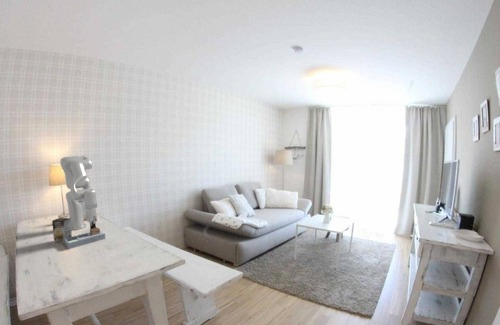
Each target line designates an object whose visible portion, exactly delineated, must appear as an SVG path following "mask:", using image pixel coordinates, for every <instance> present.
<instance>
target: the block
mask: <svg viewBox="0 0 500 325" xmlns="http://www.w3.org/2000/svg"><path fill="white" fill-rule="evenodd" d="M100 231H101V229H100V228H99V227H97V226H96V228H93V229H89V232H90V234H91V235H96V234H100Z"/></svg>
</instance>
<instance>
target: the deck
mask: <svg viewBox="0 0 500 325" xmlns="http://www.w3.org/2000/svg"><path fill="white" fill-rule="evenodd" d="M104 239H105V240H106V233H105V232H102V231H101V230H100V234H96V235H91V234H90V231H89V232H86V233H82V234H78V235H75V236H74V235H72V237H69V238H65V237H64V238H63V242H62V243H63V244H64V246H65V247H66V248H67V249H68V250H70V249H74V248H77V247H80V246H84V245H89V244H91V243H95V242H98V241H102V240H104Z"/></svg>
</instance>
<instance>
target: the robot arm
mask: <svg viewBox="0 0 500 325" xmlns="http://www.w3.org/2000/svg"><path fill="white" fill-rule="evenodd" d="M59 163H60V167H61V169H62V170H63V173H64V178H65V184H66V187H67V188H68V190H70V191H67V193H65V199H66V203H67V207H68V218H70V220H71V231H76V230H80V229H83V228H86V227H87V224H86V223H85V220H84V217H83V207H82V205H81V204H80V203H79V201H82V200H84V201H85V209H86V219H87V220H86V222H88V223H89V226H90V229H93V228H97V226H96V222H98V212H97V208H98V202H97V201H98V200H97V191H96V189H93V188H91V183H90V179H89V178H88V174H87V170H91V169H92V168H93V162H92V160H91V159H90V158H89V157H87V156H85V155H78V156H77V155H76V156H64V157H62V158H60V162H59ZM90 229H89V230H90Z"/></svg>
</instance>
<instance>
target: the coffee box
mask: <svg viewBox="0 0 500 325" xmlns="http://www.w3.org/2000/svg"><path fill="white" fill-rule="evenodd" d="M51 221H52V222H51V225H52V234H53V242H54V243H63V238H64V237H65V238H69V237H73V234H72V230H71V220H70V218H69V217H59V218H56V219H53V220H51Z"/></svg>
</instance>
